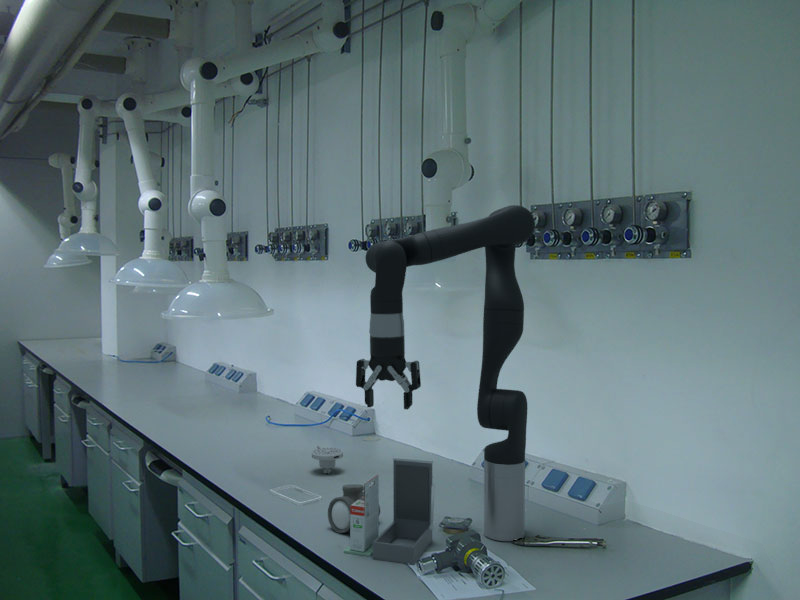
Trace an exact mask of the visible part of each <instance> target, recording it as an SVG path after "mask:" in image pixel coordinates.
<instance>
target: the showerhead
mask: <svg viewBox="0 0 800 600" xmlns="http://www.w3.org/2000/svg"><path fill="white" fill-rule="evenodd" d="M316 448H317V449H315V450H313V451H311V458H312V459H314V460H316V461H317V460H318V462H319V464H318V465H319V468H321V469H323V473H324V474H326V473H328V474H331V473H332V468H335V467H336V460H340V459H341V458H343V456H344V452H343V450H342V449H341V448H340V449H339V448H336V447H323V448H321V446H319V445H317V446H316ZM330 472H331V473H330Z"/></svg>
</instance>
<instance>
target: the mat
mask: <svg viewBox="0 0 800 600" xmlns="http://www.w3.org/2000/svg"><path fill="white" fill-rule="evenodd" d="M343 553H345V554H351V555H359V556H365V557H371V556H373V544H372V545H371V546H370V547H369V548H368V549H367V550H366V551H364V552H361V551H354V550H350V545H349V546H347V547H345V549H344V550H343Z"/></svg>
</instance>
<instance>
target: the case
mask: <svg viewBox="0 0 800 600" xmlns="http://www.w3.org/2000/svg"><path fill="white" fill-rule="evenodd" d="M392 460H393V521H392V522H391V523H390V524H389V526H387V527H386V528H385V530H383V532H381V533H380V534H379V536H378V537H377V538H376V539H375V540H374V541H373V554H372V559H373V560H379V561H386V562H392V563H399V564H407V565H413V564H414V563H415V562H417V561H418V560H419V559H418V558H420V557H421V556H422V555H423V554H424V553H425V551H426V550H427V548H428V547H429V546H430V545H431V543H432V542H433V531H434V529H435V525H434V518H435V517H434V514H435V513H434V511H435V510H434V509H435V488H436V485H435V484H434V483H433V464H434V461H433V460H431V459H430V460H427V459H418V458H407V457H396V456H394V457H392ZM396 538H401V539H408V540H416V541H415V543H414V544H413V545H412V546H411V545H404V544H396V543H391V542H392V541H393V540H394V539H396ZM417 559H418V560H417ZM416 560H417V561H416ZM408 563H409V564H408ZM415 564H416V563H415ZM415 564H414V565H415Z"/></svg>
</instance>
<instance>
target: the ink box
mask: <svg viewBox="0 0 800 600" xmlns="http://www.w3.org/2000/svg"><path fill="white" fill-rule="evenodd" d="M379 481H380V479H379V474H377V475H375V476H374V477H373V478H371V479H370V480H369V481H366V482H365V483H364V484H363V486H364V490H363V492H364V496H363V497H361V498H360V499H358V500H357V501H356V502H354V503H353V504H351V514H350V531H349V535H350V536H349V546H350V550H354V551H361V552H364V551H366V550H367V549H368V548H369V547H370V546H371V545H372V544H373V541H374V540H375V539H376V538H377V537H378V536H379V535H380V534H379V533H380V532H379V531H380V529H379V527H380V526H379V523H380V522H379V521H380V520H379V519H380V515H379V505H380V503H379V502H380V501H379V500H380V499H379V498H380V496H379V495H380V492H379V491H380V489H379V487H380V484H379ZM372 483H373V484H372ZM370 485H371V486H370Z"/></svg>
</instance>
